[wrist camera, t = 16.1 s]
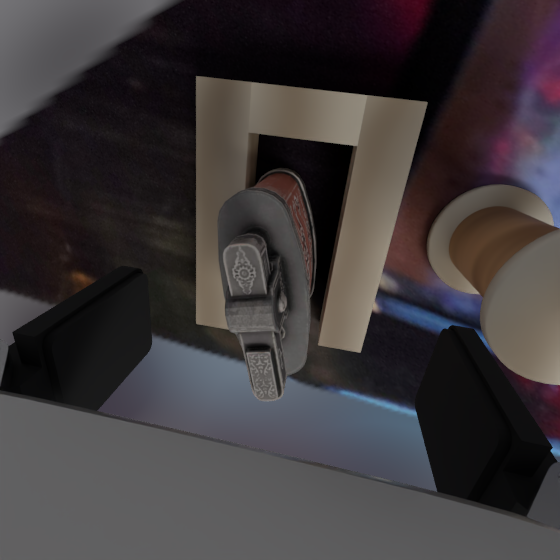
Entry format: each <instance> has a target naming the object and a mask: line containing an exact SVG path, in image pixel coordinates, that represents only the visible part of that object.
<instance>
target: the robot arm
mask: <svg viewBox="0 0 560 560" xmlns="http://www.w3.org/2000/svg"><path fill="white" fill-rule="evenodd" d="M13 336H14V339H15V343H13V344H12V345H10V346H8V344H7V343H6V342H5V341H4V340H1V339H0V560H560V462H557V460H556V459H555V457H554V456H553V454H552V453H551V451H550V450H551V449H552V448H553V447H552V446H551V444H550V443H549V441H548V440H547V438H546V437H545V435H544V434H543V432H542V431H541V429H540V428H539V426H538V425H537V423H536V422H535V420H534V419H533V417H532V416H531V414H530V413H529V411H528V410H527V408H526V407H525V405H524V404H523V402H522V401H521V399H520V397H519V396H518V394H517V393H516V391H515V390H514V388H513V387H512V385H511V384H510V382H509V381H508V379H507V378H506V376H505V375H504V373H503V372H502V370H501V369H500V367H499V366H498V364H497V363H496V361H495V360H494V358H493V357H492V355H491V354H490V352H489V351H488V349H487V348H486V346H485V345H484V343H483V342H482V340H481V339H480V337H479V336H478V334H477V333H476V331H475V330H474V329H471V328H465V327H460V326H454V325H452V326H450V327H449V328H448V329H443V330H442V331H441V333H440V336H439V338H438V341H437V344H436V346H435V349H434V351H433V354H432V356H431V359H430V362H429V364H428V367H427V369H426V372H425V374H424V377H423V380H422V382H421V385H420V387H419V390H418V392H417V395H416V399H415V408H416V412H417V416H418V420H419V424H420V427H421V431H422V435H423V439H424V443H425V447H426V450H427V454H428V458H429V462H430V465H431V469H432V473H433V477H434V481H435V485H436V488H437V492H435V491H431V490H427V489H423V488H419V487H415V486H412V485H408V484H403V483H400V482H396V481H391V480H387V479H383V478H379V477H375V476H371V475H367V474H362V473H358V472H354V471H350V470H346V469H342V468H338V467H333V466H329V465H325V464H321V463H317V462H313V461H308V460H305V459H300V458H296V457H292V456H288V455H284V454H279V453H275V452H271V451H267V450H263V449H258V448H254V447H250V446H246V445H241V444H237V443H233V442H229V441H224V440H220V439H216V438H212V437H207V436H203V435H198V434H194V433H190V432H186V431H181V430H177V429H173V428H169V427H165V426H160V425H156V424H151V423H147V422H142V421H138V420H134V419H130V418H125V417H121V416H116V415H112V414H108V413H103V412H99V411H97V410H98V409H99V408H100V407H101V406H102V405H103V404H104V402H105V401H106V400H107V399H108V398H109V397H110V395H111V394H112V393H113V392H114V391H115V390H116V389H117V388H118V386H119V385H120V384H121V383H122V382H123V381H124V379H125V378H126V377H127V376H128V375H129V374H130V373H131V372H132V370H133V369H134V368H135V367H136V366H137V365H138V364H139V362H140V361H141V360H142V359H143V358H144V357H145V356H146V355H147V353H148V352H149V350H150V348H151V345H152V334H151V320H150V306H149V292H148V279H147V276H146V275H145V274H143V271H142V270H141V269H139V268H133V267H128V266H121V267H119V268H117V269H115V270H114V271H112V272H111V273H109V274H107V275H106V276H104V277H102V278H101V279H99V280H97V281H96V282H94V283H92V284H91V285H89V286H88V287H86V288H84V289H83V290H81V291H79V292H78V293H76V294H74V295H73V296H71V297H69V298H68V299H66V300H65V301H63V302H61V303H60V304H58V305H56V306H55V307H53V308H51V309H50V310H48V311H47V312H45V313H43V314H42V315H40V316H38V317H37V318H35V319H33V320H32V321H30V322H28V323H27V324H25V325H23V326H22V327H20V328H19V329H17V330H15V331H14V332H13Z"/></svg>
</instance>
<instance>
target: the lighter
mask: <svg viewBox="0 0 560 560" xmlns="http://www.w3.org/2000/svg"><path fill="white" fill-rule="evenodd" d="M217 228H218V260H219V267H220V273H221V280H222V286H223V293H224V298H225V317H226V321H227V326H228V329H229V330H230V332H232V333H233V332H234V333H235V334H236V335H237V338H238V340H239V342H240V344H241V347H242V349H243V352H244V357H245V361H246V366H247V370H248V375H249V379H250V384H251V388H252V391H253V394H254V395H255V396H256V398H257V399H258V400H261V401H273V400H278V399H280V398H281V397H282V396H283V393H284V388H285V382H286V376H287V375H291V374H293V373H295V372H297V371H299V370H300V369H301V368H302V367H303V366H304V364H305V361H306V358H307V348H308V339H309V329H310V320H311V315H310V297H311V296H312V293H313V291H314V283H315V273H316V264H317V249H316V232H315V226H314V220H313V214H312V209H311V205H310V202H309V199H308V195H307V192H306V189H305V185H304V182H303V180H302V178H301V177H300V175H298V174H297V173H296V172H295V171H293V170H290V169H288V168H277V169H273V170H270V171H269V172H267V173H266V174H265V175H263V176H262V177H261V178H260V180H259V181H258V182H257V185H255V186H254V187H251V188H248V189H244V190H241V191H239V192H238V193H236V194H235V195H233V196H232V197H231V198H229V199H228V200H226V201H225V202H224V204H223V206H222V207H221V209H220V210H219V214H218V220H217Z"/></svg>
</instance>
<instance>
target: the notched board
mask: <svg viewBox="0 0 560 560" xmlns="http://www.w3.org/2000/svg"><path fill="white" fill-rule="evenodd" d="M427 103H428V102H422V101H414V100H405V99H396V98H387V97H378V96H369V95H360V94H352V93H343V92H334V91H325V90H316V89H307V88H298V87H289V86H281V85H272V84H263V83H254V82H245V81H236V80H227V79H218V78H210V77H201V76H196V324H200V325H206V326H212V327H218V328H223V329H228V326H227V321H226V317H225V298H224V293H223V286H222V280H221V273H220V267H219V260H218V228H217V220H218V214H219V210H220V209H221V207H222V206H223V204H224V202H225V201H226V200H228V199H229V198H231V197H232V196H233V195H235V194H236V193H238V192H239V191H241V190H244V189H248V188H251V187H254V186H255V180H256V167H257V154H258V141H259V134H265V135H273V136H281V137H289V138H297V139H304V140H312V141H320V142H328V143H336V144H344V145H352V146H353V151H352V156H351V161H350V166H349V172H348V177H347V182H346V187H345V192H344V198H343V203H342V208H341V213H340V218H339V224H338V229H337V234H336V239H335V244H334V250H333V255H332V260H331V265H330V270H329V276H328V281H327V286H326V291H325V296H324V302H323V307H322V312H321V317H320V322H319V339H318V345H320V346H326V347H331V348H337V349H343V350H349V351H354V352H360V353H361V349H362V345H363V341H364V338H365V334H366V330H367V327H368V323H369V319H370V315H371V312H372V308H373V304H374V300H375V297H376V293H377V289H378V286H379V282H380V278H381V274H382V271H383V267H384V263H385V260H386V256H387V252H388V248H389V245H390V241H391V237H392V234H393V230H394V226H395V222H396V219H397V215H398V211H399V207H400V204H401V200H402V196H403V193H404V189H405V185H406V181H407V178H408V174H409V170H410V167H411V163H412V159H413V155H414V152H415V148H416V144H417V141H418V137H419V133H420V129H421V126H422V122H423V118H424V115H425V111H426V107H427Z"/></svg>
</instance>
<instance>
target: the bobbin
mask: <svg viewBox="0 0 560 560" xmlns="http://www.w3.org/2000/svg"><path fill="white" fill-rule="evenodd" d="M427 256H428V260H429V262H430V265H431V267H432V268H433V270H434V271H435V273H436V274H437V275H438V277H439V278H440V279H441V280H442V281H443V282H444V283H446V284H447V285H448V286H450V287H452V288H454V289H456V290H459V291H462V292H466V293H472V294H480V295H481V296H482V297H483V300H482V305H481V310H480V322H481V329H482V332H483V335H484V338H485V339H486V341H487V343H488V345H489V346H490V348H491V349H492V350H493V352H494V353H495V354H496V356H497V357H498V358H499V359H500V361H501V362H502V363H503V364H505V365H506V366H507V367H508V368H509V369H511V370H512V371H514V372H515V373H517V374H519V375H521V376H523V377H525V378H528V379H531V380H534V381H537V382H542V383H546V384H554V385H560V229H559V228H557V227H554V223H553V218H552V215H551V213H550V210H549V209H548V207H547V206H546V204H545V203H544V202H543V201H542V200H541V199H540V198H539V197H538V196H536V195H535V194H533V193H531V192H530V191H527V190H525V189H522V188H519V187H515V186H511V185H504V184H493V185H486V186H481V187H477V188H474V189H472V190H469V191H467V192H465V193H463V194H461V195H459V196H458V197H456V198H455V199H454V200H452V201H451V202H450V203H449V204H447V205H446V206H445V207H444V208H443V209H442V211H441V212H440V213H439V214H438V216H437V217H436V218H435V220H434V222H433V224H432V226H431V228H430V231H429V234H428V238H427Z"/></svg>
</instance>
